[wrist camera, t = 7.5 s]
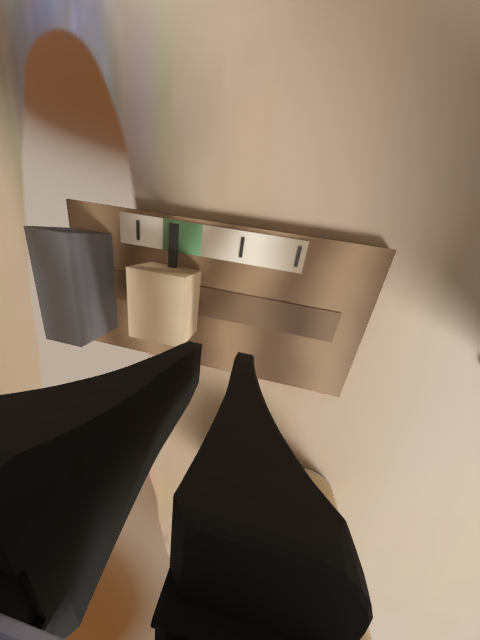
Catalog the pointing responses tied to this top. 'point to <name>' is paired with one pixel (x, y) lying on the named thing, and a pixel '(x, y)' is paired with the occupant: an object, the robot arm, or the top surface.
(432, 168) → the top surface
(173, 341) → the gauge slider
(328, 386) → the gauge base
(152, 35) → the top surface
